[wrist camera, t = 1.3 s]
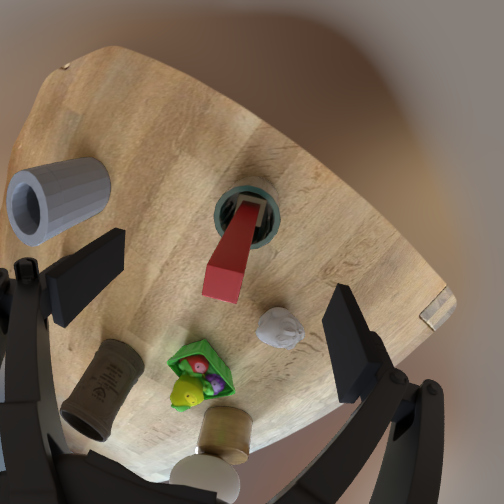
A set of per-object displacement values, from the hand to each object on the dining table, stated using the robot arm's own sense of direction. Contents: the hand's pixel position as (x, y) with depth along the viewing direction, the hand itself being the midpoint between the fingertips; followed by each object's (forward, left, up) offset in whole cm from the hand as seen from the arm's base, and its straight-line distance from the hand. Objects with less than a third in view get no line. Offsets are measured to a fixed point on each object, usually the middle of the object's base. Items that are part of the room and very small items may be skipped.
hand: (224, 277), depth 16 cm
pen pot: (0, 0, -21) cm, 21 cm away
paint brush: (0, 0, -21) cm, 21 cm away
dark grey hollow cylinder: (+40, -20, -22) cm, 49 cm away
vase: (+3, -26, -21) cm, 34 cm away
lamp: (+50, +4, -22) cm, 54 cm away
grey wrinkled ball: (+16, +8, -22) cm, 28 cm away
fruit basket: (+30, -2, -22) cm, 37 cm away
